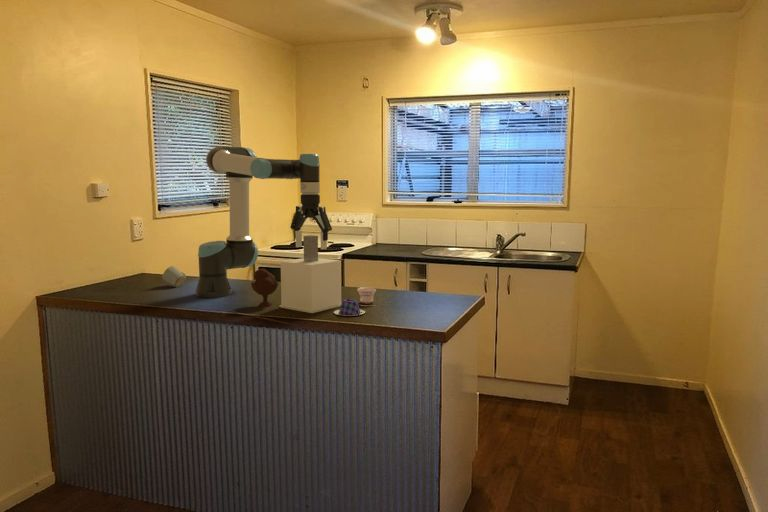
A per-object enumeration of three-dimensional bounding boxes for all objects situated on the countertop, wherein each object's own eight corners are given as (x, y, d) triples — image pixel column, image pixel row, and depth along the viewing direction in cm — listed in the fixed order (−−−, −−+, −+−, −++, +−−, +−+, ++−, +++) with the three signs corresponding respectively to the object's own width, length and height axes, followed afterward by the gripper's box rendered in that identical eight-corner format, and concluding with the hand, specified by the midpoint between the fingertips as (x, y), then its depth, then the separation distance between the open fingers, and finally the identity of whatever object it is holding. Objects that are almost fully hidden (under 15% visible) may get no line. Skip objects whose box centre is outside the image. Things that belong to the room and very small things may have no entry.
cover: (281, 305, 237) (280, 236, 233) (311, 299, 250) (310, 233, 246) (312, 311, 226) (311, 238, 223) (341, 304, 240) (340, 235, 236)
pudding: (372, 314, 226) (371, 300, 225) (348, 319, 218) (348, 305, 217) (351, 309, 235) (351, 296, 234) (327, 313, 226) (327, 300, 226)
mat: (279, 307, 236) (279, 305, 236) (311, 300, 251) (311, 298, 251) (312, 313, 226) (312, 311, 226) (343, 305, 240) (343, 304, 240)
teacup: (348, 302, 247) (348, 287, 246) (375, 300, 252) (375, 285, 251) (358, 308, 236) (358, 292, 235) (386, 305, 241) (386, 290, 240)
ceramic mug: (174, 291, 280) (176, 279, 275) (160, 281, 281) (162, 270, 276) (189, 280, 288) (192, 268, 283) (176, 270, 289) (178, 259, 285)
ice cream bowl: (273, 308, 234) (272, 270, 232) (246, 307, 236) (245, 270, 234) (283, 303, 244) (282, 267, 242) (257, 302, 246) (256, 266, 244)
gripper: (280, 193, 237) (282, 246, 240) (327, 194, 222) (328, 250, 225) (294, 193, 243) (295, 245, 246) (340, 193, 228) (341, 249, 231)
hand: (311, 248), depth 235 cm, fingers open, 13 cm apart
